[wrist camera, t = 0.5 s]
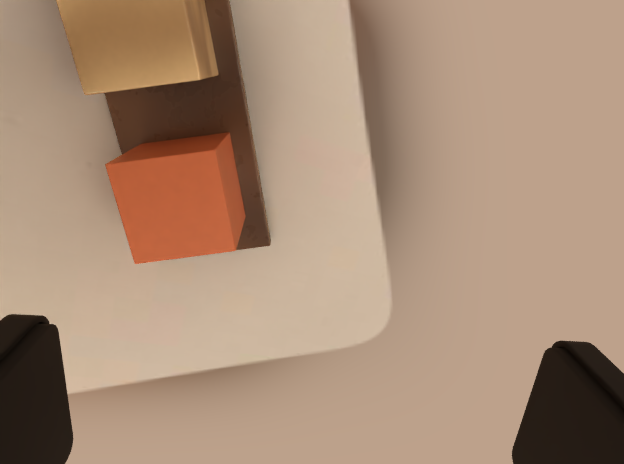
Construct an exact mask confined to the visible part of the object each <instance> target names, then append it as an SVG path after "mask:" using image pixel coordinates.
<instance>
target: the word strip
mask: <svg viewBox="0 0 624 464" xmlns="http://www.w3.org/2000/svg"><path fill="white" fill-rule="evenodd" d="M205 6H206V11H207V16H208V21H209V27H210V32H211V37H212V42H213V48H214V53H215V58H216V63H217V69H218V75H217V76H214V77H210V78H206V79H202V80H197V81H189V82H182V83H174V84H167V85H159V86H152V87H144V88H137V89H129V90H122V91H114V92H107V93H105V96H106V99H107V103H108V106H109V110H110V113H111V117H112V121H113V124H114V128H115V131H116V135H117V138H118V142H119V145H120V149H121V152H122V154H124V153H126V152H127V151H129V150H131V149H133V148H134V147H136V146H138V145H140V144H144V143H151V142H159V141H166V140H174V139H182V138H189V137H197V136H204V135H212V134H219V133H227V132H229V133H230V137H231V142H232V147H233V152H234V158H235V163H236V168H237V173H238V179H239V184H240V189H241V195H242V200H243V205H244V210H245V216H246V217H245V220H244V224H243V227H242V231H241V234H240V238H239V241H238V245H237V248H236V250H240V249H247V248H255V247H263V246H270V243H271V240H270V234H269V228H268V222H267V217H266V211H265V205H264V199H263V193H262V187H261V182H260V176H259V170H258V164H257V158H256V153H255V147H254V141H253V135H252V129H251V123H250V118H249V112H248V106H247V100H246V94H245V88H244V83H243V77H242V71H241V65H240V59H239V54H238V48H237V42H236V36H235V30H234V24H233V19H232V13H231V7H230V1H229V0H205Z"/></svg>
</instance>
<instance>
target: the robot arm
mask: <svg viewBox="0 0 624 464" xmlns="http://www.w3.org/2000/svg"><path fill="white" fill-rule="evenodd" d="M72 443H73V432H72V425H71V418H70V411H69V403H68V396H67V389H66V382H65V375H64V368H63V360H62V353H61V346H60V339H59V332H58V328H57V327H56V325H54V324H49V321H48V319H47V318H46V317H44V316H38V315H17V314H11V315H7V316H6V317H4V318H3V319H2V320H1V321H0V464H65V462H66V461H67V459H68V456H69V454H70V452H71V448H72ZM512 459H513V464H624V373H622V372H621V371H620V370H619V369H618V368H617V367H616V366H615V365H614V364H613V363H612V362H611V361H610V360H609V359H608V358H607V357H606V356H605V355H604V354H602V353H601V352H600V351H599V350H598V349H597V348H596V347H595V346H594V345H592V344H591V343H588V342H575V341H574V342H573V341H558V342H556V343H554V344H553V346H552V348H548V349H547V350H546V351H545V353H544V355H543V358H542V361H541V364H540V367H539V370H538V373H537V376H536V379H535V382H534V385H533V388H532V392H531V395H530V397H529V401H528V403H527V406H526V410H525V413H524V416H523V419H522V422H521V425H520V428H519V431H518V434H517V437H516V440H515V443H514V446H513V450H512Z"/></svg>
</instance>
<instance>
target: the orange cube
mask: <svg viewBox="0 0 624 464" xmlns="http://www.w3.org/2000/svg"><path fill="white" fill-rule="evenodd" d="M105 166H106V169H107V172H108V176H109V179H110V182H111V186H112V189H113V192H114V196H115V199H116V202H117V206H118V209H119V212H120V216H121V219H122V222H123V226H124V229H125V232H126V236H127V239H128V242H129V246H130V249H131V252H132V256H133V259H134V262H135V264H139V263H146V262H154V261H161V260H169V259H177V258H184V257H192V256H199V255H207V254H215V253H222V252H230V251H236V248H237V245H238V241H239V238H240V234H241V231H242V227H243V224H244V220H245V217H246V216H245V210H244V205H243V200H242V195H241V189H240V184H239V179H238V173H237V168H236V163H235V158H234V152H233V147H232V142H231V137H230V133H229V132H227V133H219V134H212V135H204V136H197V137H189V138H182V139H174V140H166V141H159V142H151V143H144V144H140V145H138V146H136V147H134V148H133V149H131V150H129V151H127V152H126V153H124V154H122V155H121V156H119V157H117V158H115V159H114V160H112V161H110V162H108V163H107V164H105Z"/></svg>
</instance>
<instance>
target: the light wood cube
mask: <svg viewBox="0 0 624 464" xmlns="http://www.w3.org/2000/svg"><path fill="white" fill-rule="evenodd" d="M56 1H57V5H58V8H59V11H60V15H61V18H62V21H63V25H64V28H65V31H66V35H67V38H68V41H69V45H70V48H71V51H72V55H73V58H74V61H75V65H76V68H77V71H78V75H79V78H80V81H81V85H82V88H83V91H84V94H85V95H92V94H99V93H107V92H114V91H122V90H129V89H137V88H144V87H152V86H159V85H167V84H174V83H182V82H189V81H197V80H202V79H206V78H210V77H214V76H217V75H218V69H217V63H216V58H215V53H214V48H213V42H212V37H211V32H210V27H209V21H208V16H207V11H206V6H205V0H56Z"/></svg>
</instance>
